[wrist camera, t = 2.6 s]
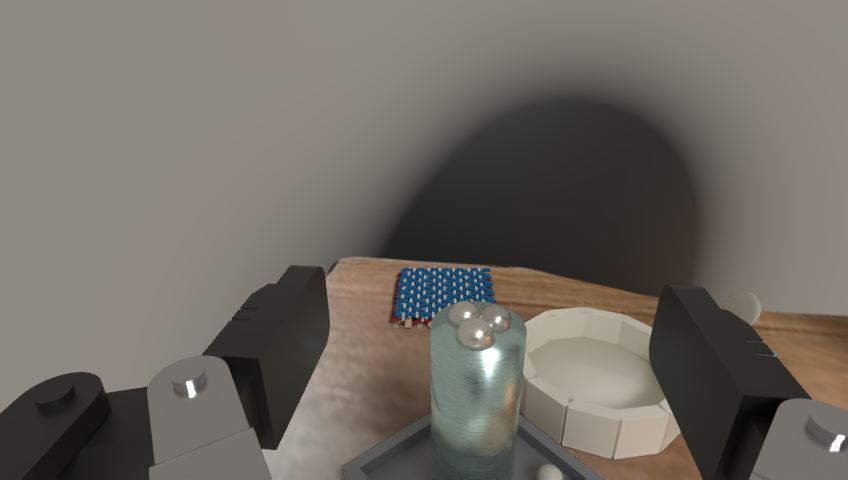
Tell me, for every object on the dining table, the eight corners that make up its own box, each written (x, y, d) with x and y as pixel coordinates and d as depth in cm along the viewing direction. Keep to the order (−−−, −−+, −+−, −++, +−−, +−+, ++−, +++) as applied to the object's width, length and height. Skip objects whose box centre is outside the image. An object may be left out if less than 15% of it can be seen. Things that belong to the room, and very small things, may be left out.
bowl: (574, 323, 47) (579, 292, 46) (714, 398, 38) (725, 363, 37) (478, 381, 40) (480, 347, 39) (621, 492, 31) (631, 452, 29)
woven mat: (397, 279, 56) (396, 263, 56) (489, 279, 56) (490, 264, 55) (388, 334, 47) (387, 316, 46) (498, 335, 47) (500, 317, 46)
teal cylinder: (472, 439, 34) (480, 275, 28) (528, 489, 30) (549, 313, 25) (415, 478, 31) (410, 305, 25) (469, 539, 28) (478, 353, 22)
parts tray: (478, 400, 38) (479, 374, 37) (601, 499, 30) (607, 471, 29) (344, 485, 32) (341, 457, 30) (458, 641, 24) (459, 610, 23)
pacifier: (718, 389, 39) (781, 376, 40) (737, 326, 37) (804, 313, 38) (660, 336, 46) (716, 325, 47) (672, 278, 43) (731, 269, 44)
